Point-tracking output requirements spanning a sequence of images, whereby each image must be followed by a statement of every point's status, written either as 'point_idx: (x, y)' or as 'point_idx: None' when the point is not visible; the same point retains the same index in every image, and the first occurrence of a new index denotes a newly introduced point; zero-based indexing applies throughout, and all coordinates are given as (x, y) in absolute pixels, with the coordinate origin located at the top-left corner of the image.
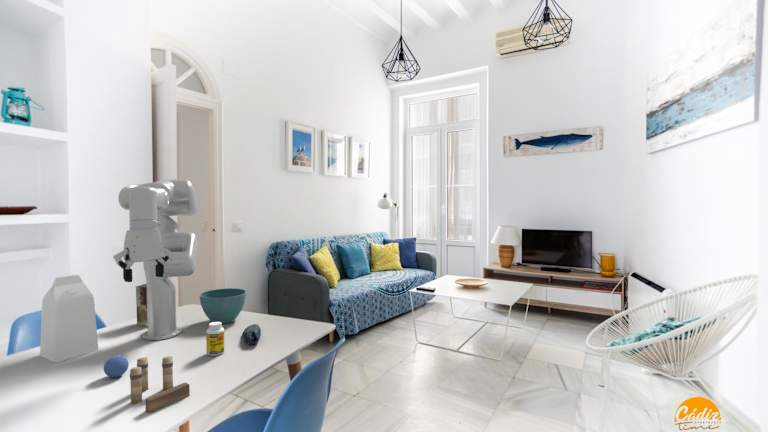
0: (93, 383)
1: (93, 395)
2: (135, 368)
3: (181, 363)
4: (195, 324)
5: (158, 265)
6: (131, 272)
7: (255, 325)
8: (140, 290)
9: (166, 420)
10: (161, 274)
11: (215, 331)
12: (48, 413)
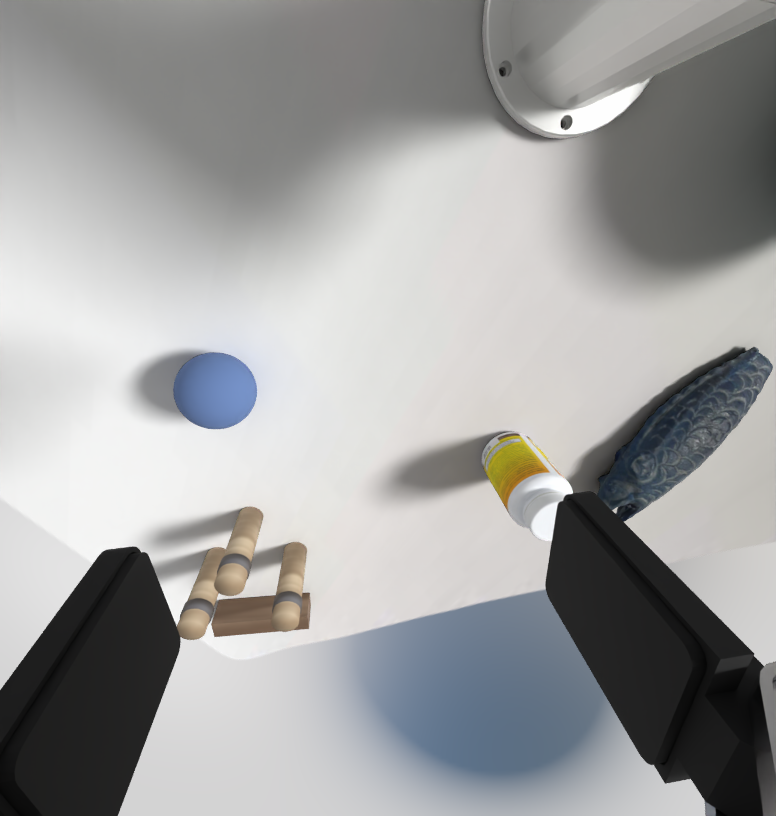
0: (157, 371)
1: (143, 453)
2: (190, 627)
3: (401, 442)
4: None
5: (664, 728)
6: (108, 806)
7: (707, 454)
8: None
9: (235, 648)
10: (567, 619)
11: (523, 526)
12: (32, 466)
